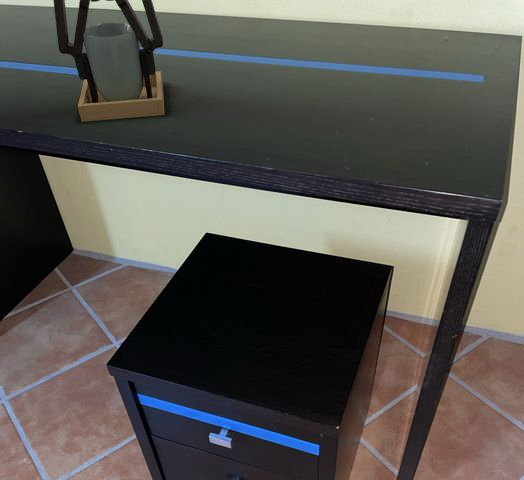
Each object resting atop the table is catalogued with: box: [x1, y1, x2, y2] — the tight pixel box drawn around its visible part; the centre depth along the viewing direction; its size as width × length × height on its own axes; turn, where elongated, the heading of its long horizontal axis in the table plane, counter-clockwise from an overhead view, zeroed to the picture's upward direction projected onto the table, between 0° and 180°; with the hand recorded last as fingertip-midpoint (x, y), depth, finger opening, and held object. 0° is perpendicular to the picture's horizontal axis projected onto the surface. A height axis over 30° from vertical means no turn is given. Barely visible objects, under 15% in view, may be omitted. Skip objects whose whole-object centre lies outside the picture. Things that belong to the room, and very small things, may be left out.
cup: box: [83, 21, 144, 102], centre depth 80 cm, size 8×8×10 cm
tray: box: [77, 71, 166, 122], centre depth 84 cm, size 13×13×3 cm
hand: (122, 97), depth 84 cm, fingers closed on cup, 8 cm apart
